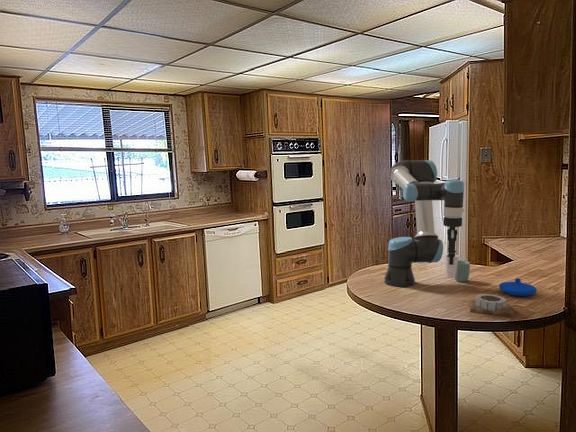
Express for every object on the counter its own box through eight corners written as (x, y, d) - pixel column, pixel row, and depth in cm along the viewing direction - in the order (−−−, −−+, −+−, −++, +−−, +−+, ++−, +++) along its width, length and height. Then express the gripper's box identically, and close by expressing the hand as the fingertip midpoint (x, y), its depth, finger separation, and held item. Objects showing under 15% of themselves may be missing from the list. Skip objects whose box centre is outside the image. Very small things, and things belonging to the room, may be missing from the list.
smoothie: (440, 275, 192) (441, 244, 190) (454, 274, 193) (455, 243, 191) (446, 279, 186) (447, 247, 184) (460, 279, 187) (462, 247, 185)
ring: (476, 309, 181) (476, 301, 180) (474, 300, 191) (474, 293, 191) (507, 312, 177) (507, 303, 176) (503, 303, 188) (504, 295, 187)
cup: (470, 283, 222) (471, 264, 221) (454, 282, 224) (455, 263, 223) (467, 279, 230) (468, 260, 229) (452, 278, 231) (452, 260, 230)
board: (470, 311, 181) (470, 308, 181) (468, 302, 193) (469, 300, 192) (513, 315, 176) (513, 313, 176) (509, 306, 187) (509, 303, 187)
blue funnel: (515, 287, 215) (516, 273, 214) (544, 296, 200) (545, 281, 199) (491, 291, 210) (491, 276, 209) (518, 300, 195) (519, 285, 194)
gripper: (463, 220, 175) (460, 276, 179) (461, 213, 193) (459, 264, 197) (443, 219, 178) (441, 274, 181) (443, 213, 196) (441, 263, 199)
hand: (450, 269), depth 189 cm, fingers closed on smoothie, 6 cm apart
